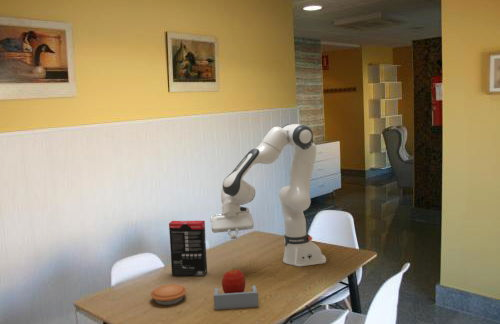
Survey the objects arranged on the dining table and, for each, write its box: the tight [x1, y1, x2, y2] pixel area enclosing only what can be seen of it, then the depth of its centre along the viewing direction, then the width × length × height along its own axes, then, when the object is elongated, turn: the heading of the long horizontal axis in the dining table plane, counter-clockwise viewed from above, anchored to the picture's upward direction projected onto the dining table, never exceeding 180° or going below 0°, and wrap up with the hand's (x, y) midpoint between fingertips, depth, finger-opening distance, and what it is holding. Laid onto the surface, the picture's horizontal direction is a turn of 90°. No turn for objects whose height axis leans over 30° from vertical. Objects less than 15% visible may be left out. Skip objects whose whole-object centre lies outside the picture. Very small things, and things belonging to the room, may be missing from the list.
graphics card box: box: [168, 220, 208, 277], centre depth 230 cm, size 17×7×27 cm, turn 84°
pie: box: [150, 283, 188, 306], centre depth 202 cm, size 15×16×5 cm
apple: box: [221, 268, 246, 294], centre depth 198 cm, size 10×10×14 cm
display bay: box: [213, 285, 259, 311], centre depth 198 cm, size 18×16×6 cm
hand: (233, 238), depth 219 cm, fingers closed
